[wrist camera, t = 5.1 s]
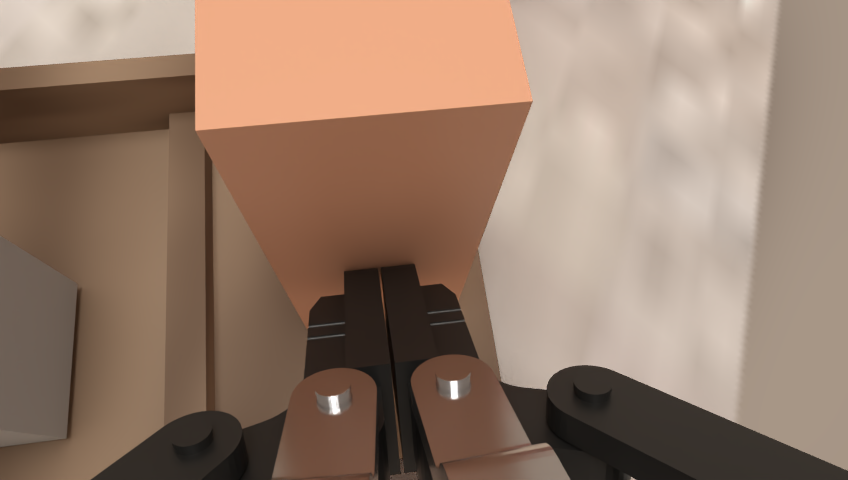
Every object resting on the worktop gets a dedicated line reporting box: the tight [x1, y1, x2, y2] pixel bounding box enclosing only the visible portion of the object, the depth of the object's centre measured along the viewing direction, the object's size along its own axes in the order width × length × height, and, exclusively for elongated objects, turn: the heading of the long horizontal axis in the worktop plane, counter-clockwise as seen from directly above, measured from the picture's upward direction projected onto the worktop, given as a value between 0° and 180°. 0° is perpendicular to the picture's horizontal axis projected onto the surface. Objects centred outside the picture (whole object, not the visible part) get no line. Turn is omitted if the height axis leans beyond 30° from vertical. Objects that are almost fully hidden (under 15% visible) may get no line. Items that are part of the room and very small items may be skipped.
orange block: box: [195, 0, 533, 329], centre depth 13 cm, size 4×4×10 cm
